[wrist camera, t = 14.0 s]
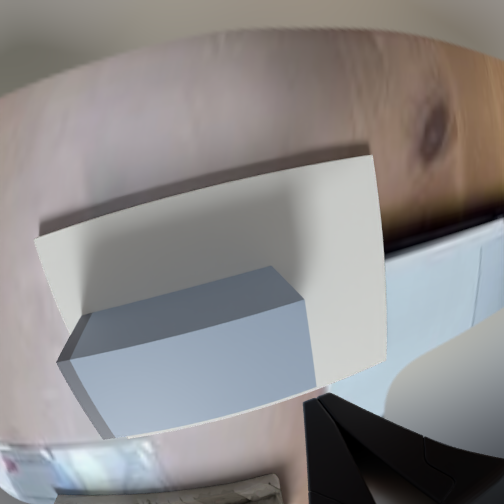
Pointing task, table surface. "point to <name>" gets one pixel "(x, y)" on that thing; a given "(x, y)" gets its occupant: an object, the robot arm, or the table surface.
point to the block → (190, 354)
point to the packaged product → (195, 495)
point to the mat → (243, 255)
